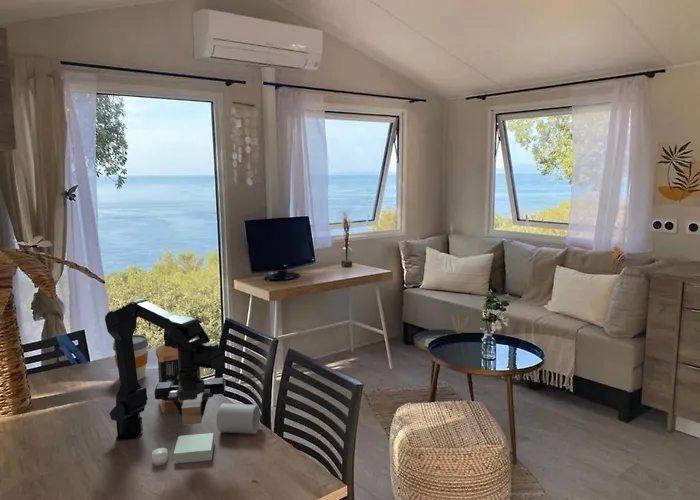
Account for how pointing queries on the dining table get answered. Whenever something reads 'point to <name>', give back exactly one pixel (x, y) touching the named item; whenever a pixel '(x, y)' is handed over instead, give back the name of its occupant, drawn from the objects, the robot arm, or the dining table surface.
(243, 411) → the mug
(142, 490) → the dining table surface
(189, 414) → the walnut cube
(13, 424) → the dining table surface
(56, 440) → the dining table surface
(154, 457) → the cream tealight
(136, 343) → the reusable coffee cup
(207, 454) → the base slab
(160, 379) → the whiskey bottle
